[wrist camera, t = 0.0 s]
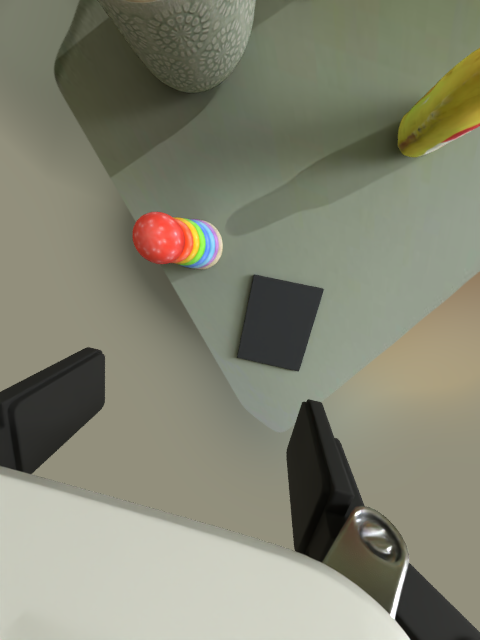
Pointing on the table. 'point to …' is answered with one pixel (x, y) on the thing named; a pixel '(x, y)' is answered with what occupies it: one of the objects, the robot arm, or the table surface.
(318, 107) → the table surface
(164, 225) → the stacking toy
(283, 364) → the flat black rectangular pad
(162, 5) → the planter
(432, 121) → the bottle
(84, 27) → the table surface
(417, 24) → the table surface
